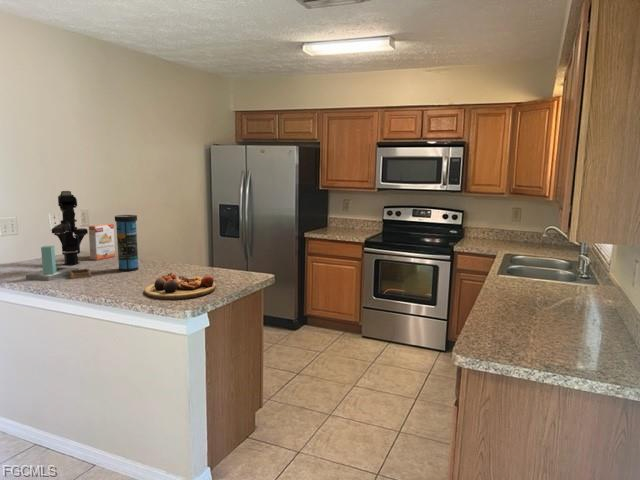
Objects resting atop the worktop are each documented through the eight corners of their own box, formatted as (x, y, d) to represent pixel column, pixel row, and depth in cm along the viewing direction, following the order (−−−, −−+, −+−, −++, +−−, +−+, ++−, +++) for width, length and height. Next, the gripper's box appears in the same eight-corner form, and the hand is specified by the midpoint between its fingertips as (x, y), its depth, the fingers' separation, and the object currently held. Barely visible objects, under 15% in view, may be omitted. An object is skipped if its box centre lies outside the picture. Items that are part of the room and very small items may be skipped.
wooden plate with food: (227, 285, 222) (227, 268, 221) (193, 302, 192) (193, 283, 190) (170, 281, 230) (169, 265, 229) (129, 297, 200) (128, 279, 199)
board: (25, 278, 227) (25, 274, 227) (57, 270, 247) (57, 266, 246) (48, 280, 224) (48, 276, 224) (79, 271, 243) (78, 267, 243)
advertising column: (119, 267, 254) (116, 214, 249) (140, 267, 257) (138, 214, 252) (115, 272, 243) (112, 217, 238) (138, 271, 246) (135, 216, 241)
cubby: (69, 275, 235) (68, 270, 235) (88, 273, 240) (88, 268, 240) (71, 279, 228) (71, 274, 228) (91, 276, 233) (91, 272, 233)
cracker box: (97, 260, 272) (94, 226, 269) (90, 259, 274) (87, 225, 271) (115, 256, 285) (113, 223, 281) (108, 255, 287) (106, 223, 284)
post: (46, 272, 231) (44, 245, 229) (56, 272, 232) (54, 245, 230) (43, 274, 227) (40, 247, 225) (53, 274, 228) (50, 247, 225)
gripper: (42, 219, 237) (44, 248, 240) (71, 220, 233) (73, 250, 235) (59, 216, 248) (61, 244, 250) (87, 218, 243) (89, 246, 246)
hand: (70, 246), depth 245 cm, fingers open, 9 cm apart
